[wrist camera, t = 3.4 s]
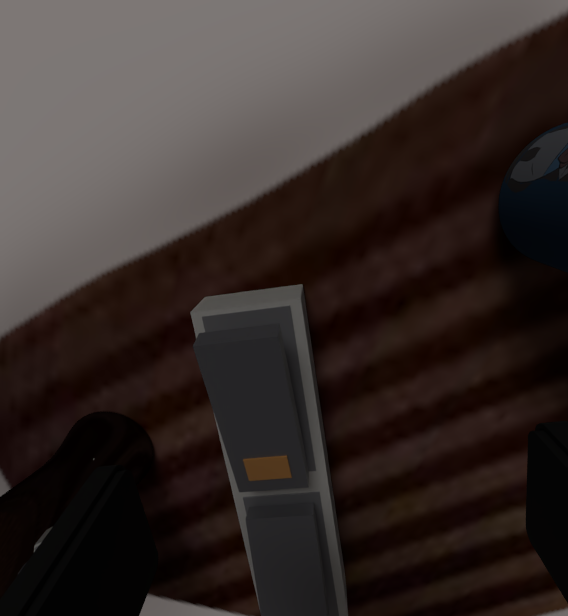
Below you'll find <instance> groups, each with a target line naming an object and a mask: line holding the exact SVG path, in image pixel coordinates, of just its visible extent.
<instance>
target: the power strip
mask: <svg viewBox="0 0 568 616" xmlns="http://www.w3.org/2000/svg"><path fill="white" fill-rule="evenodd" d="M190 313H191V317H192V321H193V326H194V330H195V334H196V339H197V336H198V334H199V333H204V332H212V331H220V330H229V329H237V328H245V327H253V326H262V325H270V324H278V323H280V328H281V333H282V338H283V343H284V348H285V353H286V358H287V363H288V368H289V373H290V379H291V384H292V389H293V394H294V399H295V404H296V409H297V414H298V419H299V424H300V429H301V434H302V439H303V445H304V450H305V455H306V460H307V465H308V470H309V487H308V488H294V489H280V490H266V491H252V492H239V490H238V487H237V484H236V481H235V477H234V474H233V471H232V468H231V465H230V462H229V458H228V455H227V452H226V449H225V446H224V443H223V440H222V436H221V433H220V430H219V427H218V424H217V421H216V424H217V428H218V433H219V437H220V441H221V445H222V450H223V454H224V458H225V463H226V467H227V471H228V475H229V480H230V484H231V488H232V493H233V497H234V501H235V505H236V510H237V514H238V518H239V522H240V527H241V531H242V535H243V540H244V544H245V548H246V552H247V557H248V561H249V565H250V569H251V574H252V578H253V582H254V587H255V591H256V595H257V599H258V594H257V588H256V581H255V575H254V569H253V563H252V557H251V551H250V544H249V538H248V532H247V526H246V520H245V519H246V516H247V513H248V509H249V507H254V506H269V505H284V504H298V503H313V502H314V507H315V514H316V521H317V529H318V536H319V543H320V550H321V557H322V564H323V572H324V579H325V586H326V593H327V600H328V607H329V614H330V616H348V606H347V592H346V578H345V571H344V564H343V557H342V550H341V543H340V537H339V530H338V523H337V516H336V509H335V502H334V495H333V489H332V482H331V475H330V468H329V461H328V454H327V448H326V441H325V434H324V427H323V420H322V413H321V407H320V400H319V393H318V386H317V379H316V372H315V365H314V359H313V352H312V345H311V338H310V331H309V324H308V318H307V311H306V304H305V297H304V290H303V284H300V285H292V286H285V287H277V288H270V289H262V290H255V291H247V292H239V293H232V294H224V295H217V296H209V297H205V298H204V299H203V300H202V301H201V302H200V303H199V304H198V305H197V306H196V307H195V308H194V309H193V310H192V311H191V312H190ZM214 416H215V414H214ZM215 420H216V418H215ZM258 604H259V600H258ZM259 608H260V606H259Z"/></svg>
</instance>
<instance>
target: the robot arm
mask: <svg viewBox="0 0 568 616" xmlns="http://www.w3.org/2000/svg"><path fill="white" fill-rule="evenodd" d="M526 530H527V534H528V537H529V539H530V542H531V544H532V545H533V547H534V549H535V550H536V552H537V554H538V555H539V557H540V558H541V560H542V562H543V563H544V565H545V567H546V568H547V570H548V572H549V573H550V575H551V576H552V578H553V580H554V581H555V583H556V585H557V586H558V588H559V590H560V591H561V593H562V595H563V596H564V598H565V599H566V601H567V603H568V422H567V421H560V422H550V423H540V424H538V425H537V426H536V428H535V431H531V432H530V433H529V436H528V464H527V500H526ZM157 565H158V553H157V549H156V546H155V543H154V540H153V537H152V534H151V531H150V528H149V524H148V521H147V518H146V515H145V512H144V509H143V506H142V503H141V500H140V497H139V493H138V490H137V487H136V484H135V481H134V478H133V475H132V473H131V471H130V470H126V469H125V467H124V466H123V465H110V466H100V467H97V468H96V469H95V470H94V471H93V472H92V473H91V475H90V476H89V478H88V479H87V480H86V482H85V483H84V484H83V486H82V487H81V489H80V490H79V491H78V493H77V494H76V495H75V497H74V498H73V500H72V501H71V502H70V504H69V505H68V506H67V508H66V509H65V511H64V512H63V513H62V515H61V516H60V518H59V519H58V520H57V522H56V523H55V524H54V526H53V527H52V529H51V530H50V531H49V533H48V534H47V535H46V537H45V538H44V540H43V541H42V542H41V544H40V545H39V546H38V548H37V549H36V551H35V552H34V553H33V555H32V556H31V557H30V559H29V560H28V562H27V563H26V564H25V566H24V567H23V569H22V570H21V571H20V573H19V574H18V575H17V577H16V578H15V580H14V581H13V582H12V584H11V585H10V586H9V588H8V589H7V591H6V592H5V593H4V595H3V596H2V597H1V599H0V616H139V614H140V612H141V609H142V607H143V604H144V601H145V598H146V596H147V593H148V591H149V588H150V586H151V583H152V580H153V578H154V575H155V573H156V570H157Z"/></svg>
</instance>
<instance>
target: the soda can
mask: <svg viewBox="0 0 568 616" xmlns="http://www.w3.org/2000/svg"><path fill="white" fill-rule="evenodd" d="M499 217H500V222H501V225H502V228H503V230H504V233H505V235H506V236H507V238H508V240H509V241H510V242H511V244H512V245H513V246H514V247H515V248H516V249H517V250H518V251H520V252H521V253H522V254H524V255H525V256H527V257H529V258H531V259H533V260H535V261H538V262H541V263H543V264H546V265H548V266H551V267H554V268H556V269H559V270H562V271H564V272H567V273H568V123H565V124H562V125H559V126H557V127H554V128H552V129H550V130H548V131H546V132H545V133H543V134H541V135H540V136H538V137H537V138H536V139H534V140H533V141H532V142H531V143H530V144H528V145H527V146H526V147H525V148H524V149H523V150H522V151H521V152H520V154H519V155H518V156H517V157H516V159H515V160H514V161H513V163H512V164H511V166H510V168H509V169H508V171H507V173H506V175H505V178H504V180H503V183H502V186H501V190H500V195H499Z"/></svg>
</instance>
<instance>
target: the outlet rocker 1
mask: <svg viewBox="0 0 568 616" xmlns="http://www.w3.org/2000/svg"><path fill="white" fill-rule="evenodd" d="M193 348H194V351H195V355H196V358H197V361H198V364H199V367H200V370H201V373H202V377H203V380H204V383H205V386H206V389H207V392H208V396H209V399H210V402H211V405H212V408H213V411H214V414H215V418H216V421H217V424H218V427H219V430H220V433H221V436H222V440H223V443H224V446H225V449H226V452H227V455H228V458H229V462H230V465H231V468H232V471H233V474H234V477H235V481H236V484H237V487H238V490H239V492H252V491H266V490H280V489H294V488H308V487H309V470H308V465H307V460H306V455H305V450H304V445H303V439H302V434H301V429H300V424H299V419H298V414H297V409H296V404H295V399H294V394H293V389H292V384H291V379H290V373H289V368H288V363H287V358H286V353H285V348H284V343H283V338H282V333H281V328H280V323H278V324H270V325H262V326H253V327H245V328H237V329H229V330H220V331H212V332H204V333H199V334H198V336H197V339H196V341H195V343H194V345H193Z"/></svg>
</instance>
